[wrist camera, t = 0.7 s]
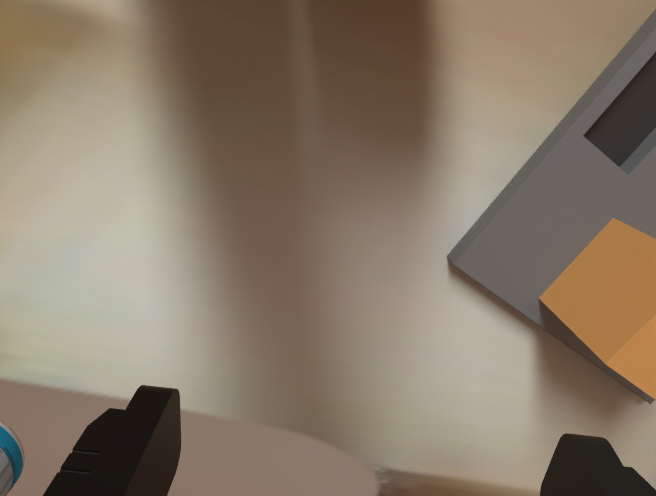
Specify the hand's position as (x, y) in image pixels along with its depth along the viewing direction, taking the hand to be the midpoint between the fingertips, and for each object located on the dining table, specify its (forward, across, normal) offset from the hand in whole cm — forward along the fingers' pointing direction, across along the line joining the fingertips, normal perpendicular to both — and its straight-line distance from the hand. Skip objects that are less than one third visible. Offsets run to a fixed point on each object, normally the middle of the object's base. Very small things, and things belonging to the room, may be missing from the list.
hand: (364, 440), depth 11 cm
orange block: (+23, -18, +7) cm, 30 cm away
